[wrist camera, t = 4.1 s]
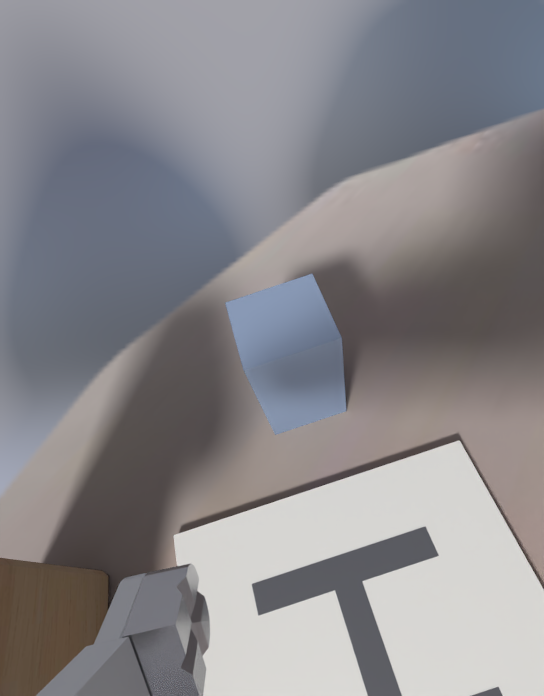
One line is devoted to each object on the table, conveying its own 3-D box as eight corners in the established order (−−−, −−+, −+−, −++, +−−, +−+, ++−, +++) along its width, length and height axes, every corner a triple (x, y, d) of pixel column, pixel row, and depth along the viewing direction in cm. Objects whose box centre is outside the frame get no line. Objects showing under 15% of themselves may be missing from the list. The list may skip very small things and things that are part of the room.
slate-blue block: (323, 356, 30) (312, 273, 22) (346, 411, 27) (341, 337, 20) (258, 378, 30) (225, 302, 22) (275, 434, 27) (243, 370, 20)
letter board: (457, 443, 25) (459, 440, 24) (667, 819, 16) (677, 826, 15) (177, 536, 25) (173, 535, 24) (231, 963, 16) (227, 974, 15)
